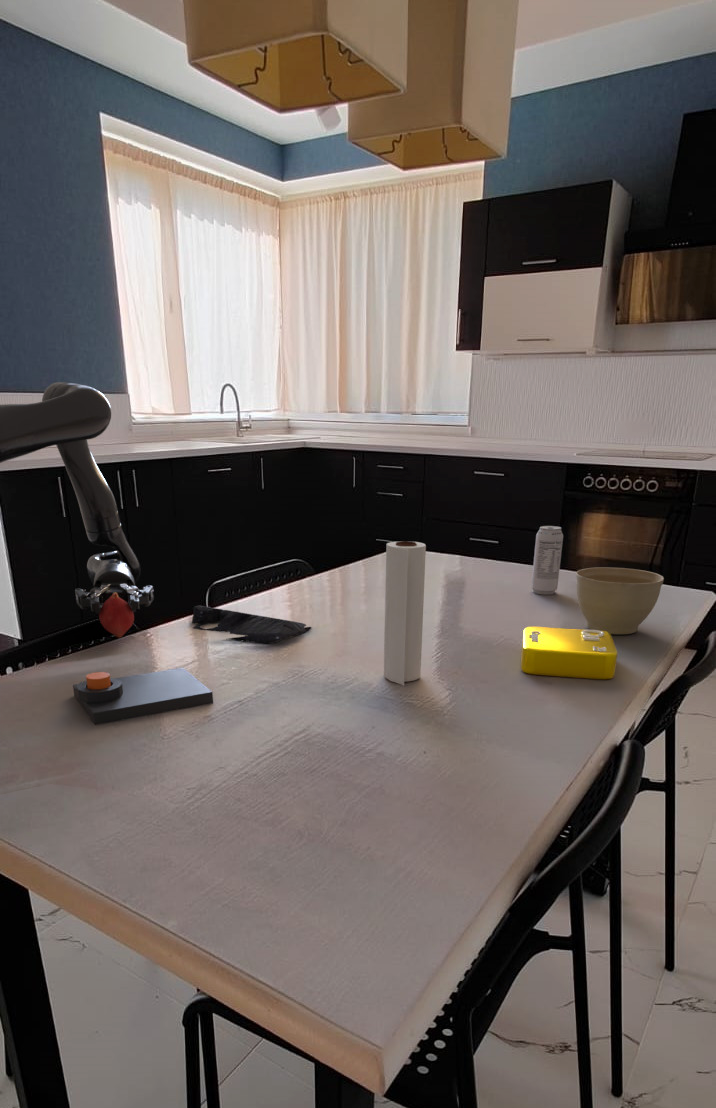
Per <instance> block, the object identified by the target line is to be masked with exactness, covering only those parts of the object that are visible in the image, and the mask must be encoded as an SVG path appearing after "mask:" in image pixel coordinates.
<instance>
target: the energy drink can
mask: <svg viewBox="0 0 716 1108" xmlns="http://www.w3.org/2000/svg"><path fill="white" fill-rule="evenodd" d="M563 541H564V533H563V531H562V527H561V526H555V525H541V526H540V527H539V530H538V531H537V533H536V535H535V545H534V556H533V566H532V576H531V587H530V588H531V589H532V591H533V593H534V594H537V595H543V596H546V595H554V594H555V593H556V591H557V590H558V586H559V578H560V577H559V576H560V570H561V569H560V568H561V559H562V550H563Z"/></svg>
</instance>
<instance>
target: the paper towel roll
mask: <svg viewBox="0 0 716 1108" xmlns="http://www.w3.org/2000/svg"><path fill="white" fill-rule="evenodd" d="M385 547H386V551H385V588H384V589H385V593H384V635H383V637H384V638H383V639H384V641H383V642H384V643H383V647H384V648H383V677H384V678H385V679H386V680H388V681H390V682H392V683H396V684H399V685H402V686H403V687H405V682H406V683H407V682H413V681H416V680H419V678H420V677H421V672H422V671H421V670H422V650H423V649H422V647H423V626H424V625H423V624H424V623H423V622H424V599H425V575H426V554H427V553H426V552H427V551H426V550H427V545H426V543H424V542H419V541H410V540H409V541H408V540H407V541H406V540H404V541H403V540H402V541H401V540H400V541H391V542H387V543H386V546H385Z"/></svg>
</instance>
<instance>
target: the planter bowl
mask: <svg viewBox="0 0 716 1108" xmlns="http://www.w3.org/2000/svg"><path fill="white" fill-rule="evenodd" d="M575 579H576V583H575V585H576V586H575V591H576V598H577V603H578V606H579V609H580V611H581V613H582V615H583V617H584V619H585V620H586V627H587V628H588V630H598V631H606V632H608V633H609V634H611V635H630V634H635V633H636V632H637V631H638V629H639V626H640V625H641V624H642V623H644V621H645V620H646V619H647V618H648V616H649V615H650V614H651V612H652V611H653V609H654V608H655V606H656V604H657V602H658V599H659V597H660V594H661V589H662V586H663V584H664V580H665V578H664V576H663V575H661V574H659V573H656V572H652V571H649V570H648V571H647V570H641V569H635V568H625V567H607V566H606V567H605V566H604V567H602V566H601V567H589V568H582V569H578V570H577V571H576V573H575Z"/></svg>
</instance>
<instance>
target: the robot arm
mask: <svg viewBox="0 0 716 1108" xmlns="http://www.w3.org/2000/svg"><path fill="white" fill-rule="evenodd" d="M111 419H112V408H111V405H110V402H109V400H108V399H107V398H106V397H105V395H104V394H103V393H102V392H100V391H99V390H97V389H95V388H94V387H93V386H92V387H91V386H89V385H87V384H80V383H73V382H66V381H58V382H53V383H51V384H50V385H49V386H47V387H46V389H45V390H44V392H43V394H42V399H41V401H39V402H31V403H6V404H5V403H4V404H3V403H2V404H0V464H2V463H4V462H7V461H10V460H14V459H17V458H20V457H23V456H26V455H29V454H31V453H34V452H37V451H40V450H43V449H46V448H48V447H49V448H50V447H52V446H56V448H57V451H58V453H59V455H60V457H61V460H62V463H63V464H64V467H65V469H66V472H67V475H68V477H69V480H70V482H71V484H72V487H73V491H74V493H75V496H76V499H77V502H78V506H79V510H80V513H81V514H80V515H81V517H82V521H83V525H84V528H85V532H86V536H87V538H88V541H89V542H90V543H91V544H93V545H96V546H102V547H111V548H113V549H115V550H114V551H108V552H102V553H96V554H93V555H91V556H90V557H89V558H88V560H87V562H86V563H87V564H86V569H87V571H86V572H87V575H88V577H89V579H90V582H91V583H92V584H93V588H91V589H90V590H89V591H86V589H82V588H79V587H78V588H75V589H74V593H75V594H74V595H75V603H76V604H77V606H78V607H79V608H80V609H81V610H84V611H87V610H89V609H90V611H91V612H92V613H93V612H95V615H99V614H100V609H101V608H102V606H103V604H104V603H105V601H106V600H107V599H109V598H110V597H111V596H112V595H113V593H115V592H116V593H117V594H118V597H119V598H121V599H123V600H124V601H126V602H127V603H128V604H129V605H130V607H131V610H132V612H133V613H136V612H137V610H140V605H142V607H146V608H147V607H150V605H151V604H152V603H153V601H154V600H155V597H154V586H153V585H150V584H148V585H146V586H143V587H142V589H140V588H138V586H136V583H137V582H138V581H139V579H140V577H141V574H142V569H141V567H142V566H141V564H140V562H139V559H138V557H137V556H136V554H135V552H134V550H133V549H132V547H131V546H130V544H129V542H128V539H127V537H126V535H125V533H124V532H125V531H124V530H123V526H122V522H121V518H120V514H119V513H120V512H119V509H118V505H117V502H116V498H115V496H114V494H113V491H112V490H111V488H110V486H109V484H108V483H107V481H106V479H105V478H104V476H103V473H102V472H101V471H100V468H99V466H98V465H97V463H96V461H95V458H94V457H93V454H92V452H91V449H90V446H89V442H88V440H89V441H90V440H93V439H96V438H97V437H99V436H101V435H102V434H103V433H104V432H105V431H107V429H108V427H109V425H110V423H111Z"/></svg>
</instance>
